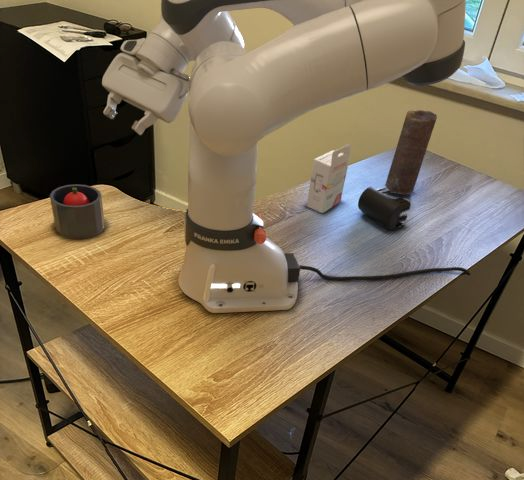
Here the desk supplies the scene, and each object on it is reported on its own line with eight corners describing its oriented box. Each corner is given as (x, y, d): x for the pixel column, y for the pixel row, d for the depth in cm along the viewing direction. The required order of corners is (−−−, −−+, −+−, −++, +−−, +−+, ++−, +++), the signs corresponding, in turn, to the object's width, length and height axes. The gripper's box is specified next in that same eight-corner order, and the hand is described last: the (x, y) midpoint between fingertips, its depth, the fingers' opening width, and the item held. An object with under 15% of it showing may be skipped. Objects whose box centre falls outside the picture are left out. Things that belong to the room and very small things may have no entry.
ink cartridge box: (323, 195, 132) (335, 136, 122) (340, 202, 130) (353, 143, 120) (304, 206, 127) (315, 145, 117) (322, 214, 125) (334, 152, 115)
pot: (108, 217, 113) (105, 186, 109) (98, 240, 106) (95, 209, 102) (62, 213, 113) (57, 182, 108) (49, 236, 106) (43, 204, 101)
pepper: (94, 220, 111) (90, 183, 106) (89, 232, 107) (84, 195, 102) (70, 218, 111) (64, 181, 105) (63, 230, 107) (57, 193, 102)
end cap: (354, 215, 126) (360, 188, 122) (374, 209, 130) (381, 182, 125) (384, 234, 121) (392, 207, 116) (405, 227, 124) (413, 201, 120)
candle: (414, 200, 136) (440, 120, 122) (386, 197, 135) (409, 116, 122) (409, 187, 141) (433, 109, 128) (382, 184, 141) (403, 105, 128)
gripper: (203, 89, 101) (164, 151, 102) (138, 60, 110) (102, 117, 111) (185, 66, 95) (143, 132, 96) (118, 38, 105) (81, 98, 106)
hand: (121, 124), depth 104 cm, fingers open, 8 cm apart
